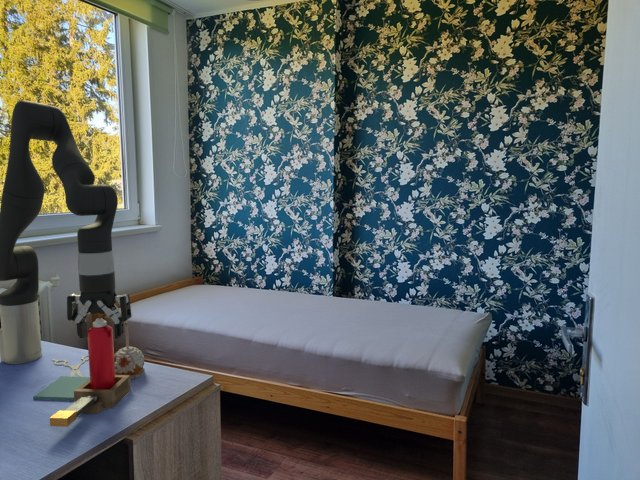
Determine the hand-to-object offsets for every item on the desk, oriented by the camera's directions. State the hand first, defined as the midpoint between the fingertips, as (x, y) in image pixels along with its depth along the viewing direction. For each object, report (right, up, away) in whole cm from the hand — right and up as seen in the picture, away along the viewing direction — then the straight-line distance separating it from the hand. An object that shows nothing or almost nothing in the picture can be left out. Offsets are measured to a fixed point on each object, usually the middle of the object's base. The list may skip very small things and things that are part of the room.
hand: (100, 337), depth 105 cm
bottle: (0, -16, +2) cm, 16 cm away
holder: (0, -15, +1) cm, 15 cm away
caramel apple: (0, -14, +15) cm, 20 cm away
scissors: (-17, -14, +19) cm, 28 cm away
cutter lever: (-1, -14, -10) cm, 17 cm away
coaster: (-11, -15, +6) cm, 19 cm away
